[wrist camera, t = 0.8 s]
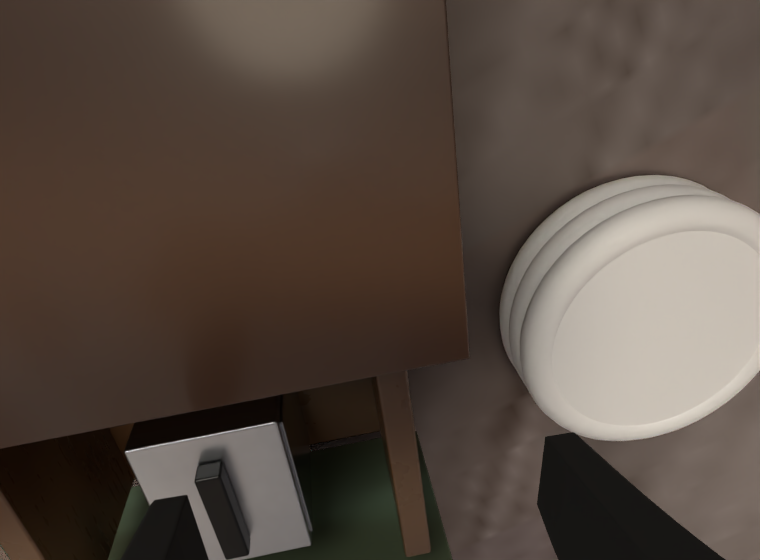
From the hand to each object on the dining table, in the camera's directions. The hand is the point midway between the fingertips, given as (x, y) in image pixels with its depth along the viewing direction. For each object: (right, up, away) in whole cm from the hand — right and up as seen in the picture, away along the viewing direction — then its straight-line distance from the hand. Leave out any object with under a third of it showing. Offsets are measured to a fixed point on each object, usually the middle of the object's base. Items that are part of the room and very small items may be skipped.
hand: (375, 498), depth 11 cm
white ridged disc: (+10, +4, +11) cm, 15 cm away
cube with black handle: (-5, 0, +9) cm, 10 cm away
